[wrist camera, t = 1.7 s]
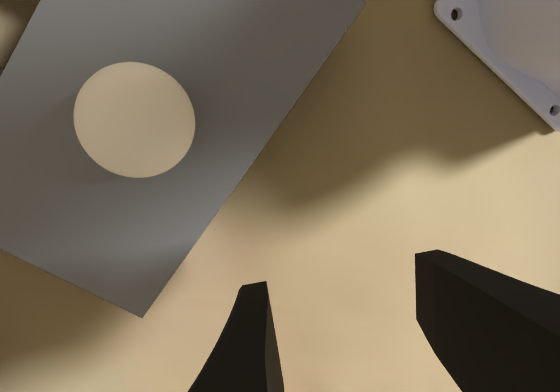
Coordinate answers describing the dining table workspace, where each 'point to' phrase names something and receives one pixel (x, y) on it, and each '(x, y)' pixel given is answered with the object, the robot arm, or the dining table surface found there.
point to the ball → (134, 119)
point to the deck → (189, 170)
